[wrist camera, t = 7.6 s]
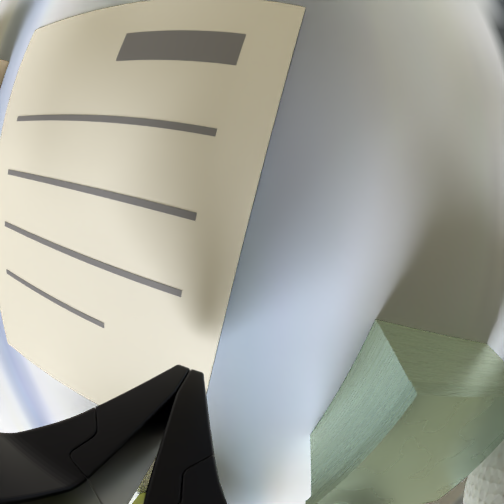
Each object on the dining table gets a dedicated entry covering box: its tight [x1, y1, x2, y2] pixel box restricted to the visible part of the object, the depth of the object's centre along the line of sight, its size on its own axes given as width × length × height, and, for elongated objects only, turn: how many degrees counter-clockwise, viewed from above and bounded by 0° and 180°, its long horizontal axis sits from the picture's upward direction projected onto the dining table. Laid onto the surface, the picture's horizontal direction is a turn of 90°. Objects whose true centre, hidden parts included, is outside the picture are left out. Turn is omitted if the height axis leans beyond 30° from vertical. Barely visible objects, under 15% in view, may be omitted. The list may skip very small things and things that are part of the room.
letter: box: [0, 0, 305, 405], centre depth 9 cm, size 18×13×1 cm
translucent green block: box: [305, 319, 504, 504], centre depth 7 cm, size 6×6×4 cm
